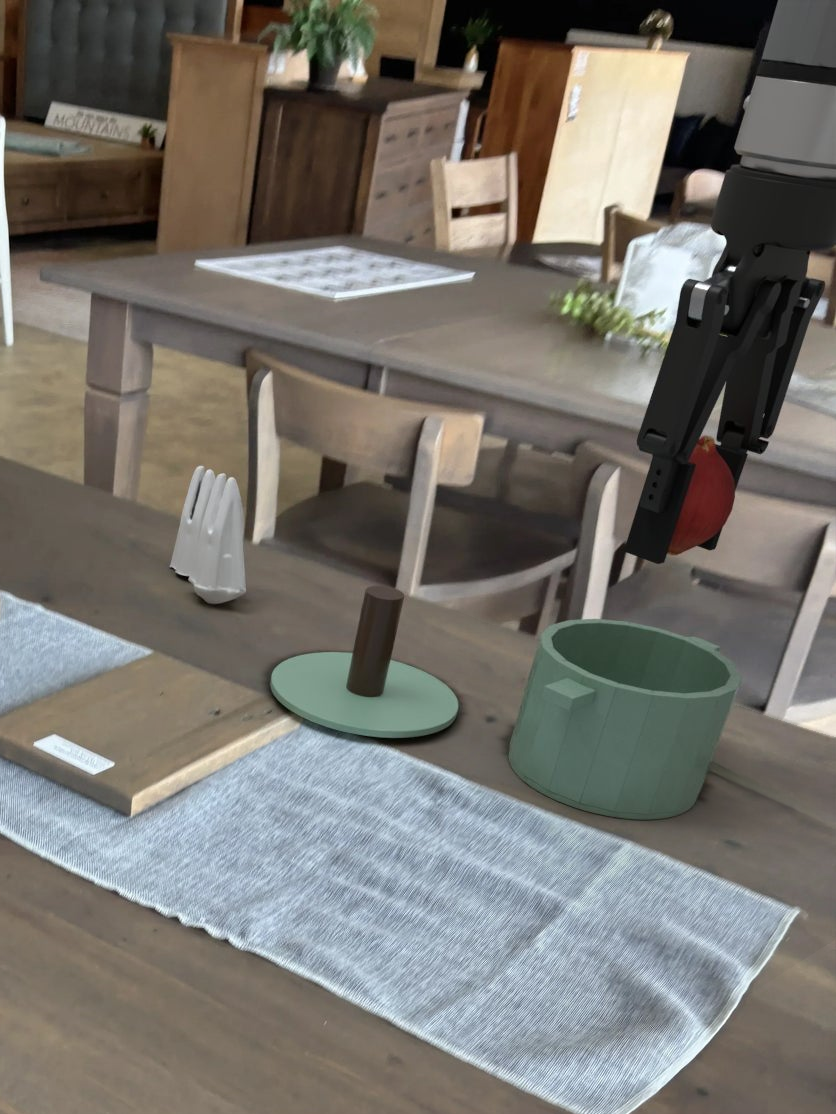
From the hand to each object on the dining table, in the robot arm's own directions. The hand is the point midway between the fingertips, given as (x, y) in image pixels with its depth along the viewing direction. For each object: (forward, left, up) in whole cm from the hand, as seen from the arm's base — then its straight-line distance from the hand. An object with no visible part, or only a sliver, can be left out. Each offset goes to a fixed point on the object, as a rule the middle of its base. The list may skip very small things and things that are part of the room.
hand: (670, 549), depth 97 cm
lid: (+18, +7, -17) cm, 25 cm away
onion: (0, 0, 0) cm, 0 cm away
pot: (0, 0, -17) cm, 17 cm away
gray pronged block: (+43, +1, -17) cm, 46 cm away
